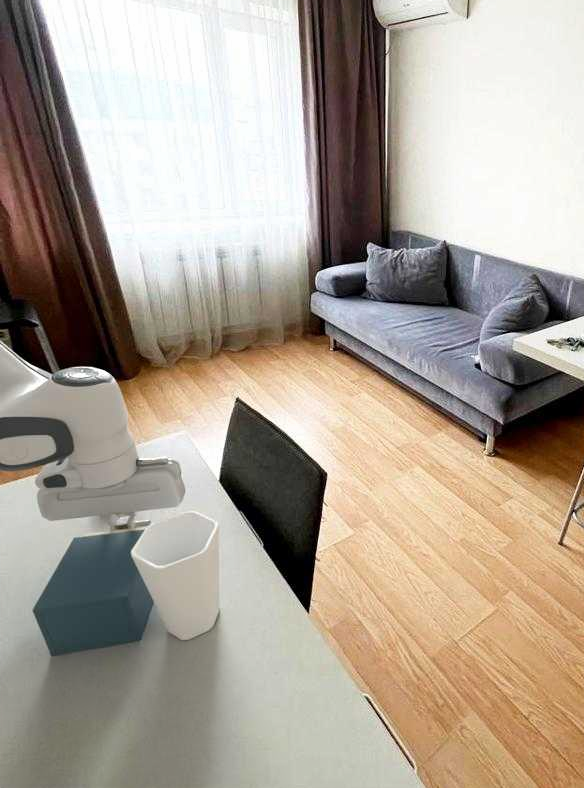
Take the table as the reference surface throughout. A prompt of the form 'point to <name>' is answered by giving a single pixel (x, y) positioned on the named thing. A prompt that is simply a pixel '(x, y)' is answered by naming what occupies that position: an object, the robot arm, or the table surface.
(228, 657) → the table surface
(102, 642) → the blue-grey box
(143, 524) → the tray
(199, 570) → the cup
